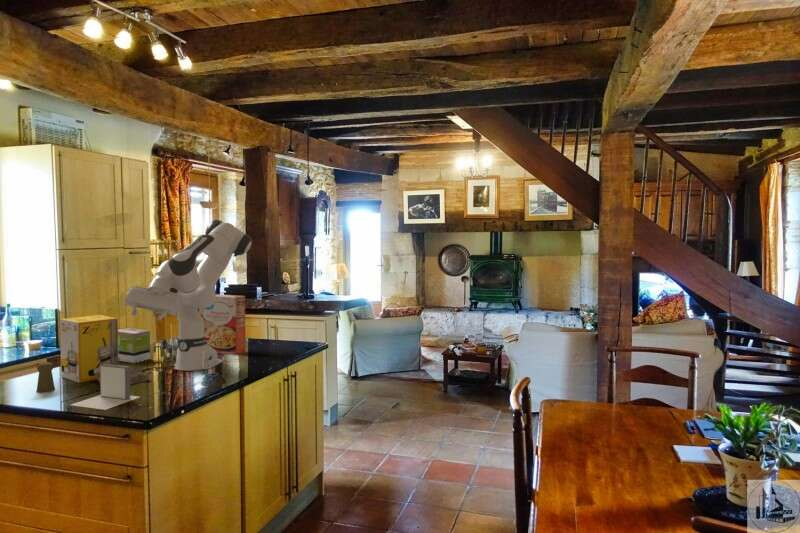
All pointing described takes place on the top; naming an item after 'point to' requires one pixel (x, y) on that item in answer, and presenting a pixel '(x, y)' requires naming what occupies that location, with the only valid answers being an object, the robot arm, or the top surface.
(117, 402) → the beige mat
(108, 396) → the slate tile
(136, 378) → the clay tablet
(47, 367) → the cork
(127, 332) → the tea box
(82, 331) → the packaging box
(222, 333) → the pasta box
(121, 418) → the top surface
